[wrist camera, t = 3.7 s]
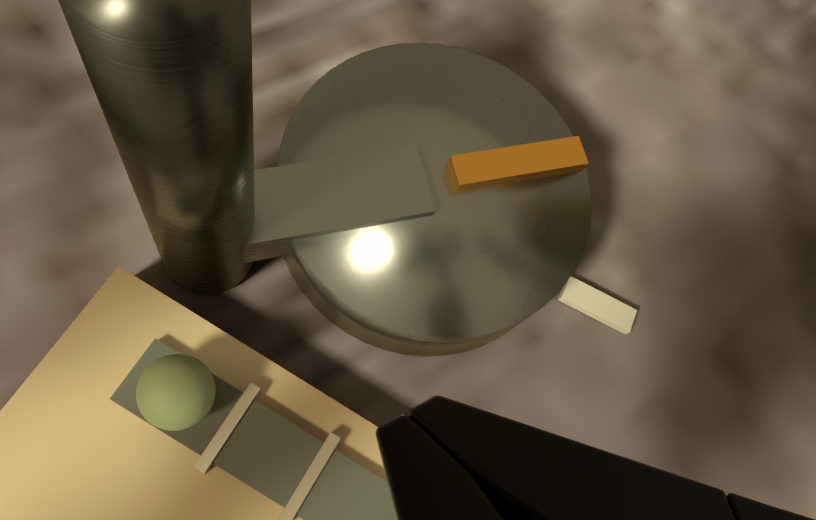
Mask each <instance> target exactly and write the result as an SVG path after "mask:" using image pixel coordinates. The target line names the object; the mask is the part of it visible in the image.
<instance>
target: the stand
mask: <svg viewBox="0 0 816 520" xmlns="http://www.w3.org/2000/svg"><path fill="white" fill-rule="evenodd" d="M377 428H378V427H377V426H375V425H374V424H372V423H371V422H369V421H367V420H366V419H364V418H363V417H361V416H359V415H358V414H356V413H354V412H353V411H351V410H350V409H348V408H346V407H345V406H343V405H342V404H340V403H338V402H337V401H335V400H334V399H332V398H330V397H329V396H327V395H325V394H324V393H322V392H321V391H319V390H317V389H316V388H314V387H313V386H311V385H309V384H308V383H306V382H305V381H303V380H301V379H300V378H298V377H297V376H295V375H293V374H292V373H290V372H288V371H287V370H285V369H284V368H282V367H280V366H279V365H277V364H276V363H274V362H272V361H271V360H269V359H268V358H266V357H264V356H263V355H261V354H259V353H258V352H256V351H255V350H253V349H251V348H250V347H248V346H247V345H245V344H243V343H242V342H240V341H239V340H237V339H235V338H234V337H232V336H230V335H229V334H227V333H226V332H224V331H222V330H221V329H219V328H218V327H216V326H214V325H213V324H211V323H210V322H208V321H206V320H205V319H203V318H201V317H200V316H198V315H197V314H195V313H193V312H192V311H190V310H189V309H187V308H185V307H184V306H182V305H181V304H179V303H177V302H176V301H174V300H172V299H171V298H169V297H168V296H166V295H164V294H163V293H161V292H160V291H158V290H156V289H155V288H153V287H152V286H150V285H148V284H147V283H145V282H143V281H142V280H140V279H139V278H137V277H135V276H134V275H132V274H131V273H129V272H127V271H126V270H124V269H123V268H121V267H119V266H118V267H117V269H116V270H115V271H114V272H113V274H112V275H111V276H110V277H109V279H108V280H107V281H106V282H105V283H104V285H103V286H102V287H101V288H100V290H99V291H98V292H97V293H96V294H95V296H94V297H93V298H92V299H91V301H90V302H89V303H88V304H87V306H86V307H85V308H84V309H83V310H82V312H81V313H80V314H79V315H78V317H77V318H76V319H75V320H74V321H73V323H72V324H71V325H70V326H69V328H68V329H67V330H66V331H65V333H64V334H63V335H62V336H61V337H60V339H59V340H58V341H57V342H56V344H55V345H54V346H53V347H52V348H51V350H50V351H49V352H48V353H47V355H46V356H45V357H44V358H43V360H42V361H41V362H40V363H39V364H38V366H37V367H36V368H35V369H34V371H33V372H32V373H31V374H30V375H29V377H28V378H27V379H26V380H25V382H24V383H23V384H22V385H21V387H20V388H19V389H18V390H17V391H16V393H15V394H14V395H13V396H12V398H11V399H10V400H9V401H8V402H7V404H6V405H5V406H4V407H3V409H2V410H1V411H0V520H397V517H396V513H395V509H394V505H393V502H392V498H391V494H390V490H389V486H388V482H387V478H386V474H385V470H384V466H383V462H382V458H381V454H380V450H379V446H378V443H377V439H376V430H377Z"/></svg>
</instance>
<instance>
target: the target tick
mask: <svg viewBox="0 0 816 520" xmlns="http://www.w3.org/2000/svg"><path fill="white" fill-rule="evenodd" d="M558 300H559V301H561V302H563V303H565V304H567V305H569V306H571V307H573V308H575V309H576V310H578V311H580V312H582V313H584V314H586V315H588V316H590V317H592V318H594V319H596V320H598V321H600V322H602V323H604V324H606V325H608V326H610V327H612V328H613V329H615V330H617V331H619V332H621V333H623V334H627V333H629V332H630V330H631V327H632V324H633V322H634V319H635V316H636V313H637V310H636V309H634V308H632V307H630V306H628V305H626V304H624V303H622V302H620V301H618V300H616V299H614V298H613V297H611V296H609V295H607V294H605V293H603V292H601V291H599V290H597V289H595V288H593V287H591V286H589V285H587V284H585V283H583V282H581V281H580V280H578V279H576V278H574V277H572V276H570V278H569V279H568V281H567V282H566V283H565V284H564V286H563V288H562V290H561V293H560V295H559V298H558Z"/></svg>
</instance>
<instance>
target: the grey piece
mask: <svg viewBox="0 0 816 520" xmlns="http://www.w3.org/2000/svg"><path fill="white" fill-rule="evenodd" d="M59 3H60V5H61V8H62V10H63V13H64V15H65V18H66V20H67V23H68V25H69V28H70V30H71V33H72V35H73V38H74V40H75V43H76V45H77V48H78V50H79V53H80V55H81V58H82V61H83V63H84V66H85V68H86V71H87V73H88V76H89V78H90V81H91V83H92V86H93V88H94V91H95V93H96V96H97V98H98V101H99V103H100V106H101V108H102V111H103V113H104V116H105V118H106V121H107V123H108V126H109V128H110V131H111V133H112V136H113V138H114V141H115V143H116V146H117V148H118V151H119V154H120V156H121V159H122V161H123V164H124V166H125V169H126V171H127V174H128V176H129V179H130V181H131V184H132V186H133V189H134V191H135V194H136V196H137V199H138V201H139V204H140V206H141V209H142V211H143V214H144V216H145V219H146V221H147V224H148V226H149V229H150V231H151V234H152V236H153V239H154V241H155V244H156V247H157V249H158V252H159V254H160V257H161V259H162V262H163V264H164V267H165V269H166V271H167V273H168V274H169V276H170V277H171V278H172V279H173V280H174V281H175V282H176V283H177V284H179V285H180V286H181V287H183V288H185V289H187V290H189V291H192V292H196V293H202V294H214V293H219V292H223V291H226V290H229V289H231V288H232V287H234V286H236V285H237V284H239V283H240V282H241V281H242V280H243V279H244V278H245V277H246V276H247V274H248V273H249V271H250V270H251V268H252V265H253V262H254V261H258V260H263V259H269V258H274V257H279V256H284V259H285V261H286V263H287V266H288V268H289V270H290V272H291V274H292V276H293V278H294V279H295V281H296V283H297V284H298V286H299V287H300V289H301V291H302V292H303V293H304V294H305V296H306V297H307V298H308V299H309V300H310V302H311V303H312V304H313V305H314V307H315V308H316V309H318V310H319V311H320V312H321V313H322V314H323V315H324V316H325V317H326V318H327V319H328V320H329V321H331V322H332V323H333V324H335V325H336V326H338V327H339V328H340V329H342V330H343V331H345V332H346V333H348V334H350V335H352V336H353V337H355V338H357V339H359V340H361V341H363V342H365V343H367V344H370V345H373V346H375V347H378V348H381V349H383V350H387V351H391V352H396V353H400V354H405V355H414V356H444V355H451V354H457V353H462V352H465V351H469V350H472V349H475V348H478V347H481V346H483V345H485V344H487V343H489V342H491V341H493V340H496V339H497V338H499V337H500V336H502V335H503V334H505V333H506V332H508V331H509V330H511V329H512V328H514V327H515V326H517V325H518V324H519V323H521V322H522V321H524V320H525V319H526V318H528V317H529V316H531V315H532V314H533V313H535V312H536V311H538V310H539V309H540V308H542V307H543V306H544V305H545V304H546V303H547V302H548V301H550V300H551V299H552V298H553V297H554V296H555V295H556V294H557V293H558V292H559V290H560V289H561V288H562V287H563V286H564V284H565V283H566V282H567V281H568V279H569V278H570V276H571V274H572V273H573V271H574V269H575V268H576V266H577V264H578V262H579V260H580V257H581V255H582V252H583V250H584V248H585V244H586V240H587V236H588V232H589V227H590V218H591V191H590V185H589V179H588V173H587V170H586V166H587V165H588V164H589V163H588V160H587V157H586V154H585V152H584V149H583V146H582V143H581V141H580V138H579V136H573V135H572V133H571V131H570V129H569V128H568V126H567V124H566V123H565V121H564V120H563V119H562V117H561V116H560V115H559V113H558V112H557V110H556V109H555V108H554V107H553V106H552V104H551V103H550V102H549V101H548V100H547V99H546V98H545V97H544V96H543V95H542V94H541V93H540V92H539V91H538V90H537V89H536V88H534V87H533V86H532V85H531V84H530V83H529V82H527V81H526V80H525V79H523V78H522V77H521V76H519V75H518V74H516V73H515V72H513V71H512V70H510V69H509V68H507V67H505V66H503V65H501V64H499V63H498V62H496V61H494V60H492V59H489V58H487V57H484V56H482V55H480V54H477V53H474V52H471V51H467V50H464V49H461V48H457V47H452V46H446V45H441V44H429V43H406V44H396V45H390V46H384V47H380V48H376V49H373V50H370V51H366V52H363V53H361V54H359V55H356V56H354V57H352V58H350V59H348V60H346V61H344V62H342V63H341V64H339V65H338V66H336V67H334V68H333V69H331V70H330V71H329V72H327V73H326V74H325V75H324V76H323V77H321V78H320V79H319V80H318V81H317V82H316V83H315V84H314V85H313V86H312V87H311V88H310V89H309V90H308V91H307V93H306V94H305V95H304V96H303V98H302V99H301V101H300V102H299V104H298V105H297V107H296V108H295V110H294V111H293V113H292V115H291V118H290V120H289V122H288V124H287V126H286V128H285V132H284V135H283V138H282V142H281V145H280V151H279V158H278V165H277V167H271V168H264V169H257V170H254V146H253V92H252V38H251V0H59Z"/></svg>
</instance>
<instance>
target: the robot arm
mask: <svg viewBox="0 0 816 520" xmlns="http://www.w3.org/2000/svg"><path fill="white" fill-rule="evenodd" d="M376 439H377V443H378V446H379V450H380V454H381V458H382V462H383V466H384V470H385V474H386V478H387V482H388V486H389V490H390V494H391V498H392V502H393V505H394V509H395V513H396V517H397V520H815V519H811V518H808V517H805V516H802V515H798V514H795V513H792V512H789V511H785V510H782V509H779V508H776V507H773V506H769V505H766V504H763V503H760V502H757V501H754V500H751V499H748V498H745V497H742V496H739V495H736V494H733V493H729V494H728V495H727V497H726V495H725V493H724V492H723V491H722V490H720V489H717V488H714V487H711V486H708V485H706V484H703V483H700V482H697V481H694V480H691V479H688V478H685V477H682V476H679V475H676V474H673V473H670V472H667V471H664V470H661V469H658V468H655V467H652V466H649V465H646V464H643V463H640V462H637V461H634V460H631V459H628V458H625V457H622V456H619V455H616V454H613V453H610V452H607V451H604V450H601V449H598V448H595V447H592V446H589V445H586V444H583V443H580V442H577V441H574V440H571V439H568V438H565V437H562V436H559V435H556V434H553V433H550V432H547V431H544V430H541V429H538V428H535V427H532V426H529V425H526V424H523V423H520V422H517V421H514V420H511V419H508V418H505V417H502V416H499V415H496V414H493V413H490V412H487V411H484V410H481V409H478V408H475V407H472V406H469V405H466V404H463V403H460V402H457V401H454V400H451V399H448V398H445V397H442V396H432V397H430V398H429V399H427V400H425V401H423V402H422V403H420V404H418V405H416V406H415V407H413V408H411V409H410V410H409V411H408V413H407V415H404V414H401V415H399V416H397V417H395V418H394V419H392V420H390V421H388V422H387V423H385V424H383V425H381V426H380V427H378V428H377V430H376Z"/></svg>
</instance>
